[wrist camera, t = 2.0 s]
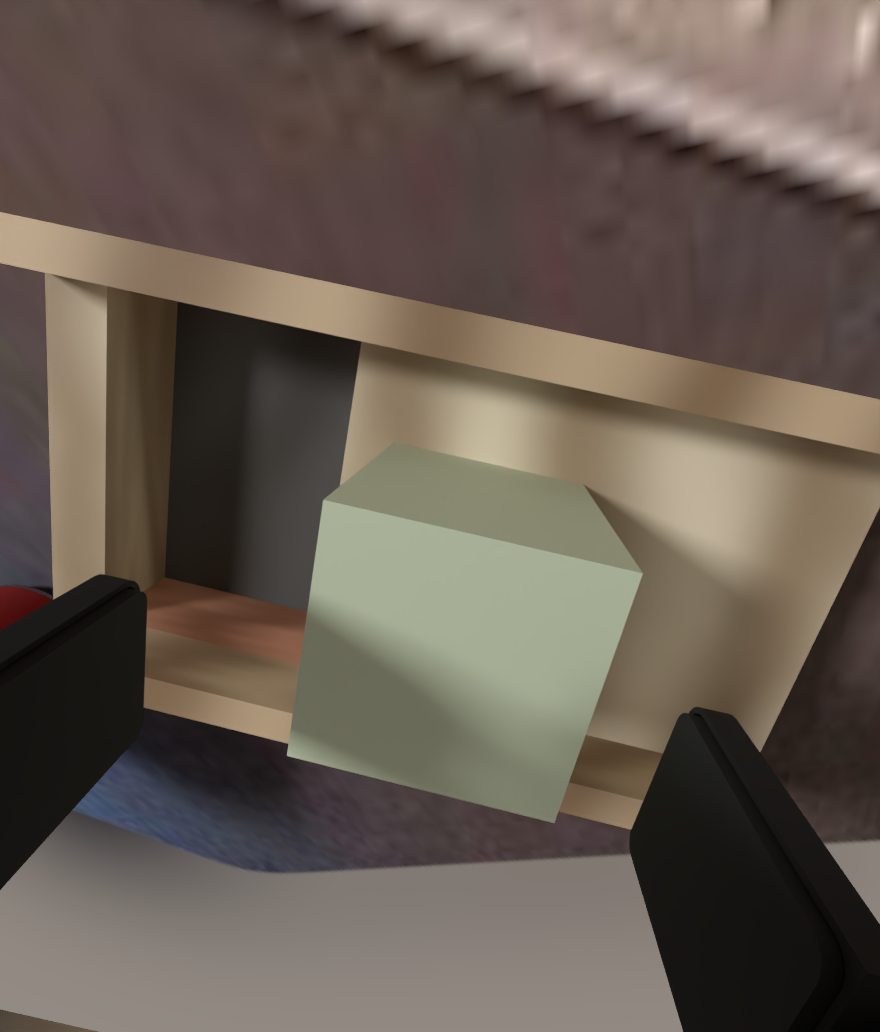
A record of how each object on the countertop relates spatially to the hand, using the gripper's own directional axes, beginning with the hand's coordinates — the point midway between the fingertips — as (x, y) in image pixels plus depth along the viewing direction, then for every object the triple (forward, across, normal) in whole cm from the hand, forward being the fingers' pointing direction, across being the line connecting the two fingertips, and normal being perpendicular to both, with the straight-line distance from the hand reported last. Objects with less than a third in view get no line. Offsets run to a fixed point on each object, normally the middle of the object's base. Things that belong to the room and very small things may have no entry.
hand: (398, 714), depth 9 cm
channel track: (+13, 0, 0) cm, 13 cm away
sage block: (+8, -1, 0) cm, 9 cm away
